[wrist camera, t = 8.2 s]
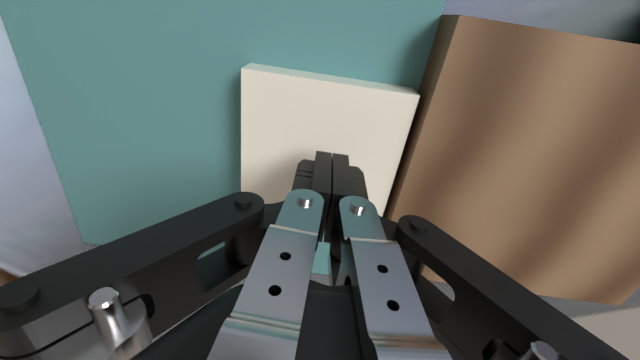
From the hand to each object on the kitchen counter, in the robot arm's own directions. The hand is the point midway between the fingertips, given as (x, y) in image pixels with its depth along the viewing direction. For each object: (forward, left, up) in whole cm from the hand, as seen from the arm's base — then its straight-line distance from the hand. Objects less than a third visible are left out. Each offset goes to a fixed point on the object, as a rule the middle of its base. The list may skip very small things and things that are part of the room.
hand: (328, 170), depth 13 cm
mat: (-6, 0, -3) cm, 7 cm away
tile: (0, 0, -2) cm, 2 cm away
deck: (+12, 0, -3) cm, 12 cm away
